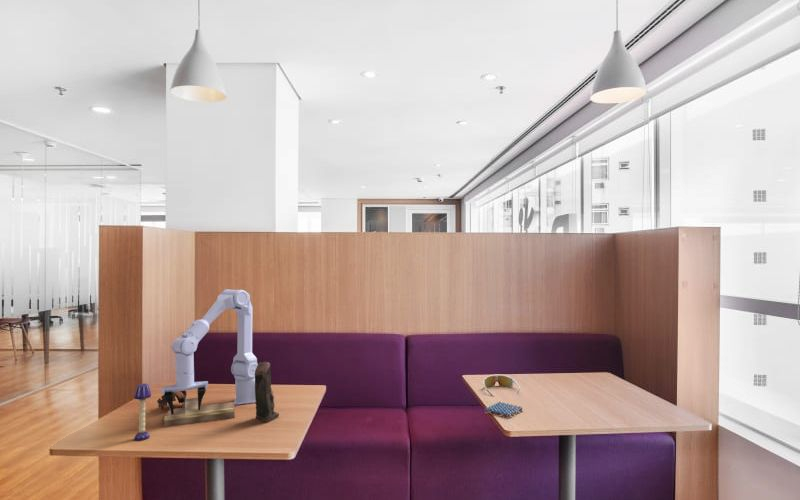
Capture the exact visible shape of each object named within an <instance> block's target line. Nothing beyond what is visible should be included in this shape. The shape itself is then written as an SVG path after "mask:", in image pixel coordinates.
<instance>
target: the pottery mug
mask: <svg viewBox="0 0 800 500" xmlns="http://www.w3.org/2000/svg"><path fill="white" fill-rule="evenodd" d="M187 394H188V393H187V390H185V391H177V392H173V402H176V401H177V402H178V404H181V408H185V399H187V398H186V397H187ZM156 402H157V404H158V408H159V409H161V410H163V409H164V408H165V407H168V402H167V400H166V399H165V397H164V394H162V395H161V397H159V398H158V399H157V400H156Z"/></svg>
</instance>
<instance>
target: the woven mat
mask: <svg viewBox="0 0 800 500" xmlns="http://www.w3.org/2000/svg"><path fill="white" fill-rule="evenodd" d="M523 412H524V409H523V407H522V406H517V404H516V405H513V404H511V403H510V404H509V403H505V402H501V401H498V402H496V403H493V404H491V405H489V406H486V407H485V408H484V412H483V413H485V414H489V415H493V416H496V417H500V418H504V419H508V420H510V419H511V418H514V417H515V416H517V415H518V414H521V413H523Z"/></svg>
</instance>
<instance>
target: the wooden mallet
mask: <svg viewBox="0 0 800 500" xmlns="http://www.w3.org/2000/svg"><path fill="white" fill-rule="evenodd" d="M196 412H198V397H193V398H192V397H191V398H186V399H185V414H188V413H196Z"/></svg>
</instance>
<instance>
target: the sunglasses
mask: <svg viewBox="0 0 800 500" xmlns="http://www.w3.org/2000/svg"><path fill="white" fill-rule="evenodd" d="M496 383H498V385H499V387H508V388H513V387H514V384H515V385H516V386H517V387H518V389H519V392H518V396H520V395H521V387H520V385H519V384H518V382H517V381H516V380H515V379H514V378H512V377H510V376H509V375H506V374H490V375H488V376H486V377H484V378H483V380H482V385H483V388H484V389H485V391H487V392H488V394H489V395H491V397H495V396H494V394H493V393H492V392H491V391H490V390H489V389H488V388H491V387H495V385H496Z"/></svg>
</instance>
